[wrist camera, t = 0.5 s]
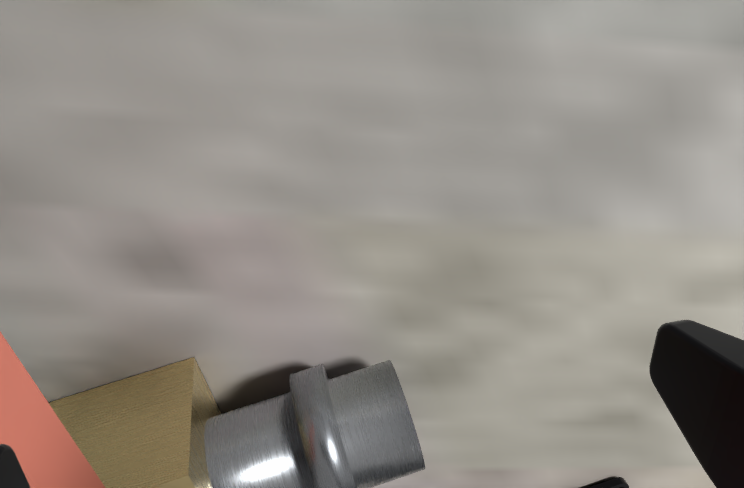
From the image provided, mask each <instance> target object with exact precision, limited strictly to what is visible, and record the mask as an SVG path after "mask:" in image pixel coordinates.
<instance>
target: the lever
mask: <svg viewBox="0 0 744 488" xmlns="http://www.w3.org/2000/svg"><path fill="white" fill-rule="evenodd" d="M0 444H6V445H9V446H10V447H11V448H12V449H13V451H14V452H15V454H16V457H17V459H18V461H19V463H20V465H21V468H22V470H23V472H24V474H25V476H26V479H27V481H28V483H29V485H30V488H105V486H104V485H103V483H102V482H101V480H100V479H99V477H98V476H97V474H96V473H95V471H94V470H93V468H92V467H91V465H90V464H89V462H88V461H87V460H86V458H85V457H84V455H83V454H82V452H81V451H80V449H79V448H78V446H77V445H76V443H75V442H74V440H73V439H72V437H71V436H70V434H69V433H68V431H67V430H66V428H65V427H64V425H63V424H62V423H61V421H60V420H59V418H58V417H57V415H56V414H55V412H54V411H53V409H52V408H51V406H50V405H49V403H48V402H47V400H46V399H45V397H44V396H43V394H42V393H41V391H40V390H39V388H38V387H37V385H36V384H35V383H34V381H33V380H32V378H31V377H30V375H29V374H28V372H27V371H26V369H25V368H24V366H23V365H22V363H21V362H20V360H19V359H18V357H17V356H16V354H15V353H14V351H13V350H12V348H11V347H10V346H9V344H8V343H7V341H6V340H5V338H4V337H3V335H2V334H1V332H0Z"/></svg>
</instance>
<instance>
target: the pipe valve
mask: <svg viewBox="0 0 744 488" xmlns="http://www.w3.org/2000/svg"><path fill="white" fill-rule="evenodd" d="M290 389H291V392H289V393H286V394H282V395H279V396H276V397H273V398H270V399H267V400H264V401H261V402H258V403H255V404H251V405H248V406H245V407H242V408H239V409H236V410H233V411H230V412H227V413H224V414H221V412H220V410H219V408H218V406H217V404H216V402H215V400H214V398H213V395H212V393H211V391H210V389H209V387H208V385H207V383H206V381H205V379H204V377H203V375H202V372H201V370H200V368H199V366H198V364H197V362H196V360H195V358H194V357H193V358H190V359H186V360H183V361H180V362H177V363H174V364H170V365H167V366H164V367H161V368H158V369H154V370H151V371H148V372H145V373H142V374H139V375H135V376H132V377H129V378H126V379H123V380H119V381H116V382H113V383H110V384H107V385H103V386H100V387H97V388H94V389H91V390H87V391H84V392H81V393H78V394H75V395H71V396H68V397H65V398H62V399H59V400H55V401H52V402H49V405H50V406H51V408H52V409H53V411H54V412H55V414H56V415H57V417H58V418H59V420H60V421H61V423H62V424H63V425H64V427H65V428H66V430H67V431H68V433H69V434H70V436H71V437H72V439H73V440H74V442H75V443H76V445H77V446H78V448H79V449H80V451H81V452H82V454H83V455H84V457H85V458H86V460H87V461H88V462H89V464H90V465H91V467H92V468H93V470H94V471H95V473H96V474H97V476H98V477H99V479H100V480H101V482H102V483H103V485H104V486H105V488H371V487H374V486H377V485H380V484H383V483H386V482H389V481H392V480H395V479H398V478H401V477H404V476H406V475H409V474H412V473H415V472H418V471H421V470H424V469H425V464H424V459H423V455H422V451H421V448H420V444H419V441H418V437H417V434H416V430H415V427H414V424H413V421H412V418H411V414H410V411H409V408H408V405H407V402H406V399H405V396H404V393H403V391H402V388H401V385H400V382H399V379H398V377H397V374H396V372H395V369H394V367H393V365H392V362H391V361H390V360H388V361H385V362H382V363H379V364H375V365H372V366H369V367H366V368H363V369H360V370H357V371H354V372H351V373H348V374H344V375H341V376H338V377H335V378H332V379H329V378H328V375H327V372H326V370H325V367H324V365H323V364H321V365H318V366H315V367H312V368H309V369H305V370H302V371H299V372H296V373H293V374H290Z"/></svg>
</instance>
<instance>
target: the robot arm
mask: <svg viewBox="0 0 744 488" xmlns="http://www.w3.org/2000/svg"><path fill="white" fill-rule="evenodd" d="M650 376H651V379H652V382H653V384H654V386H655V387H656V389H657V391H658V393H659V394H660V396H661V398H662V399H663V401H664V403H665V404H666V406H667V408H668V410H669V411H670V413H671V415H672V416H673V418H674V420H675V422H676V423H677V425H678V427H679V428H680V430H681V432H682V433H683V435H684V437H685V439H686V440H687V442H688V444H689V445H690V447H691V449H692V451H693V452H694V454H695V456H696V457H697V459H698V460H699V462H700V464H701V465H702V467H703V468H704V470H705V472H706V473H707V475H708V476H709V478H710V479H711V480H712V482H713V483H714V485H715V486H716V488H744V340H741V339H739V338H736V337H734V336H731V335H728V334H726V333H723V332H720V331H718V330H715V329H713V328H710V327H707V326H705V325H702V324H699V323H697V322H694V321H691V320H681V321H675V322H670V323H665V324H663V325H661V327H660V328H659V329H658V332H657V335H656V340H655V344H654V349H653V353H652V358H651V362H650ZM0 488H30V485H29V483H28V481H27V479H26V476H25V474H24V472H23V470H22V468H21V465H20V463H19V461H18V459H17V457H16V454H15V452H14V451H13V449H12V448H11V447H10V446H9V445H6V444H0ZM589 488H629V486H628V484H627V483H626V481H625V480H624V479H623V478H621V477H618V478H614V479H611V480H608V481H606V482H603V483H600V484H597V485H594V486H591V487H589Z"/></svg>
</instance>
